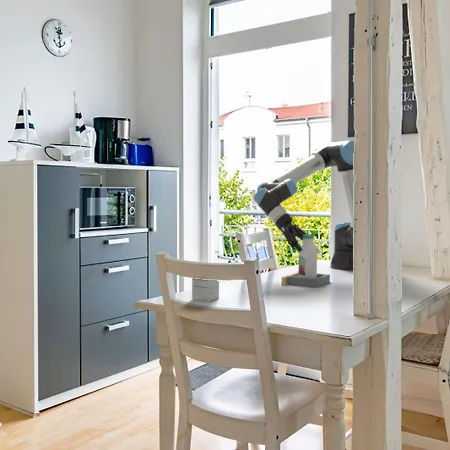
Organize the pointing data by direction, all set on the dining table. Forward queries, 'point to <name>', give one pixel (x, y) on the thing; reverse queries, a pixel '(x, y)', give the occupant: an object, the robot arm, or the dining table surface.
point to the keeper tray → (306, 280)
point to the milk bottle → (308, 258)
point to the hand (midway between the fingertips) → (312, 255)
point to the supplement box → (205, 289)
